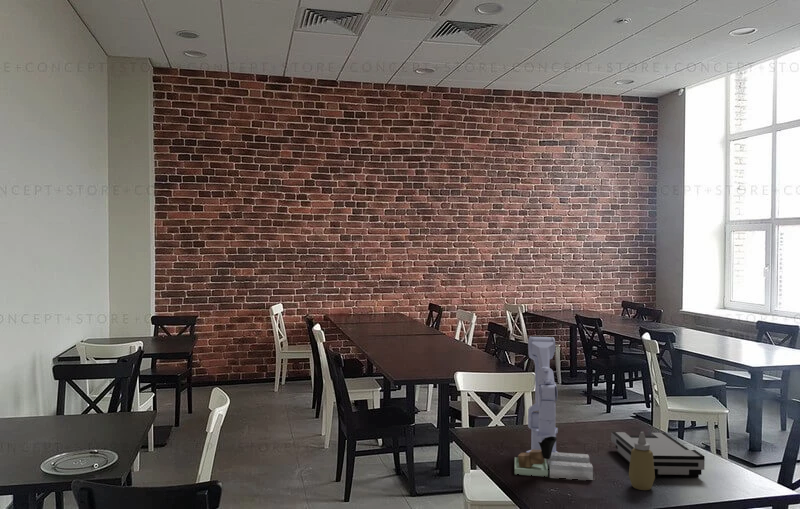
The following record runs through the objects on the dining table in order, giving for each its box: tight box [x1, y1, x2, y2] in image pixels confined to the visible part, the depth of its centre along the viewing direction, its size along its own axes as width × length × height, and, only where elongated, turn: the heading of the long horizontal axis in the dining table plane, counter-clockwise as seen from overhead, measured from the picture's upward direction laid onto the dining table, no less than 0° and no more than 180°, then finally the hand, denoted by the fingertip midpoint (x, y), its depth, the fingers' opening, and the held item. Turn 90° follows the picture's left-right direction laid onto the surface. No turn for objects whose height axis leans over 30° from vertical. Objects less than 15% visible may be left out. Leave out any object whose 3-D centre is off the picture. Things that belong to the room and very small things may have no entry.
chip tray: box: [514, 456, 549, 478], centre depth 219 cm, size 11×12×2 cm
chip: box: [529, 449, 545, 464], centre depth 220 cm, size 4×4×4 cm
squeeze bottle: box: [628, 431, 656, 491], centre depth 203 cm, size 8×8×18 cm
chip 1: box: [517, 452, 533, 468], centre depth 221 cm, size 4×4×4 cm
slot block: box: [547, 451, 594, 481], centre depth 217 cm, size 14×14×4 cm
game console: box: [610, 431, 705, 478], centre depth 227 cm, size 21×32×8 cm, turn 0°
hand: (546, 458), depth 218 cm, fingers closed
